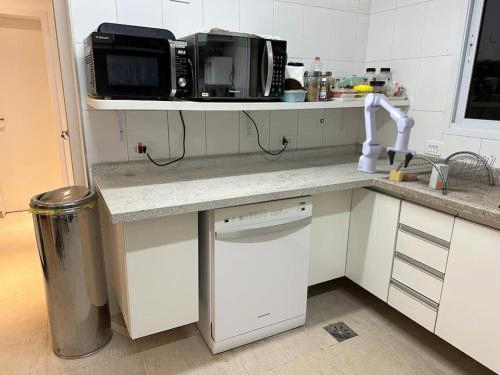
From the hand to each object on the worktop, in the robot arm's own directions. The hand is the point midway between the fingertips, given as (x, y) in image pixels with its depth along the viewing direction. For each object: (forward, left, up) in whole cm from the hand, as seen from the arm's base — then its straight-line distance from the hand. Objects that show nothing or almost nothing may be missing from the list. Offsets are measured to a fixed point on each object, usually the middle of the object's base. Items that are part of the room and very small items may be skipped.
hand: (398, 166), depth 184 cm
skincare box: (+20, +2, -8) cm, 21 cm away
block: (0, 0, -8) cm, 8 cm away
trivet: (+1, +9, -7) cm, 11 cm away
